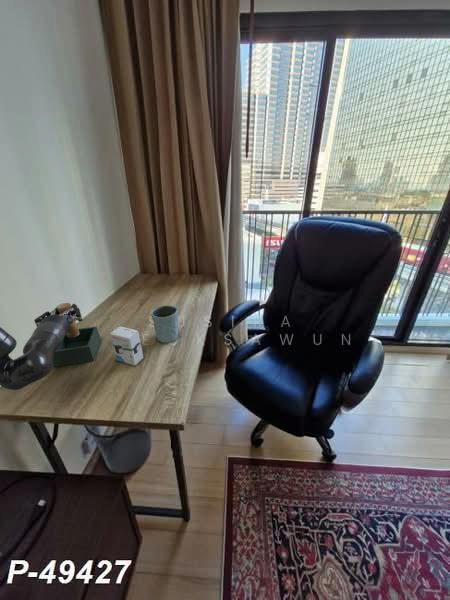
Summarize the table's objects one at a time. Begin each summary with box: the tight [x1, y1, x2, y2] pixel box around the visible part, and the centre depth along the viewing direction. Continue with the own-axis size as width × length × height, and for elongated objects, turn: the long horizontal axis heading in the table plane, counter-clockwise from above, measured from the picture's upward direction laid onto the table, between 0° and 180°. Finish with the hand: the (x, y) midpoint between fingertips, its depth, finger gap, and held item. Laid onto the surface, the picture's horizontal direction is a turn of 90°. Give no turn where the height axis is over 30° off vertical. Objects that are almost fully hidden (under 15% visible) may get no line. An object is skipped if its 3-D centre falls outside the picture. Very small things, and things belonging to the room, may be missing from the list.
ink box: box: [109, 326, 144, 367], centre depth 88 cm, size 8×5×12 cm, turn 68°
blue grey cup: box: [150, 305, 179, 344], centre depth 101 cm, size 10×10×12 cm
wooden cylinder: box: [56, 302, 80, 338], centre depth 88 cm, size 4×4×12 cm
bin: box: [53, 326, 101, 368], centre depth 93 cm, size 13×14×6 cm
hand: (67, 307), depth 89 cm, fingers closed on wooden cylinder, 4 cm apart
